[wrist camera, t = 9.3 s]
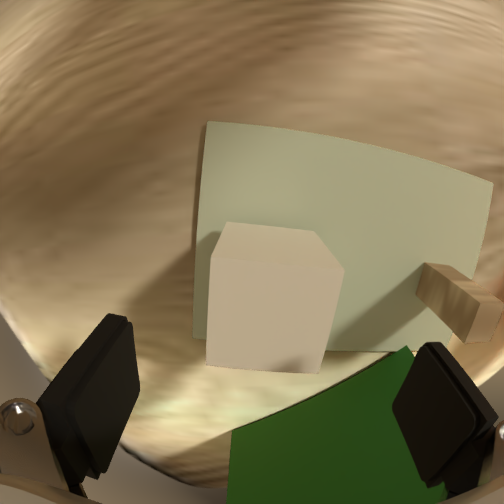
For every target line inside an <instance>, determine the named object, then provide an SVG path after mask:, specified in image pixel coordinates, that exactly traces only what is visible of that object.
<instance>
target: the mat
mask: <svg viewBox="0 0 504 504" xmlns="http://www.w3.org/2000/svg"><path fill="white" fill-rule="evenodd" d="M492 190H493V183H491V182H489V181H486V180H484V179H481V178H479V177H476V176H473V175H471V174H468V173H465V172H462V171H459V170H457V169H454V168H451V167H448V166H445V165H442V164H439V163H435V162H432V161H429V160H426V159H422V158H419V157H416V156H412V155H409V154H405V153H401V152H398V151H394V150H390V149H386V148H382V147H378V146H374V145H370V144H365V143H361V142H357V141H352V140H347V139H342V138H337V137H332V136H327V135H321V134H316V133H310V132H304V131H297V130H291V129H284V128H276V127H269V126H260V125H251V124H241V123H230V122H217V121H207V129H206V137H205V146H204V156H203V165H202V176H201V186H200V198H199V210H198V224H197V238H196V254H195V273H194V296H193V328H192V338H194V339H202V340H207V319H208V298H209V280H210V263H211V255H212V253H213V251H214V249H215V246H216V244H217V242H218V240H219V238H220V235H221V233H222V231H223V229H224V227H225V224H226V222H236V223H246V224H256V225H265V226H274V227H283V228H292V229H301V230H309V231H314V232H315V233H316V234H317V235H318V237H319V238H320V239H321V240H322V242H323V243H324V244H325V245H326V247H327V248H328V249H329V250H330V252H331V253H332V254H333V255H334V257H335V258H336V259H337V261H338V262H339V263H340V264H341V266H342V267H343V268H344V270H345V272H344V277H343V281H342V286H341V290H340V294H339V299H338V303H337V307H336V311H335V315H334V319H333V323H332V327H331V331H330V334H329V338H328V342H327V345H326V349H325V350H328V351H398V350H400V349H401V348H403V347H404V346H406V345H407V346H408V348H409V349H410V351H418V350H419V348H420V347H422V346H423V344H424V343H426V342H441V343H442V344H443V345H444V346H445V347H447V345H448V343H449V340H450V338H451V336H452V333H453V331H452V330H451V329H450V328H449V327H448V326H447V325H446V324H445V323H444V322H443V321H442V320H441V319H440V318H439V317H438V316H437V315H436V314H435V313H434V312H433V311H432V310H431V309H430V308H429V307H428V306H427V305H426V304H425V303H424V302H423V301H422V300H420V299H419V298H418V297H417V296H416V295H415V294H416V290H417V287H418V284H419V280H420V277H421V273H422V270H423V266H424V262H428V263H436V264H443V265H450V266H451V267H453V268H454V269H456V270H457V271H459V272H460V273H462V274H463V275H465V276H466V277H468V278H469V279H471V280H472V278H473V275H474V272H475V268H476V265H477V261H478V257H479V254H480V250H481V246H482V242H483V238H484V233H485V229H486V224H487V219H488V214H489V209H490V203H491V197H492Z"/></svg>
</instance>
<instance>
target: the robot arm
mask: <svg viewBox="0 0 504 504" xmlns="http://www.w3.org/2000/svg"><path fill="white" fill-rule="evenodd" d="M139 392H140V381H139V375H138V368H137V360H136V352H135V344H134V335H133V326H132V323H131V322H128V320H127V318H126V317H125V316H121V315H116V314H111V313H109V314H107V315H106V316H105V317H104V319H103V320H102V321H101V322H100V323H99V324H98V326H97V327H96V328H95V329H94V330H93V332H92V333H91V334H90V335H89V337H88V338H87V339H86V340H85V341H84V343H83V344H82V345H81V346H80V348H79V349H77V350H76V351H75V352H74V354H73V355H72V356H71V357H70V359H69V360H68V361H67V362H66V364H65V365H64V366H63V368H62V369H61V370H60V371H59V373H58V374H57V375H56V377H55V378H54V379H53V381H52V382H51V383H50V385H49V386H48V387H47V389H46V390H45V391H44V393H43V394H42V395H41V397H40V398H39V399H38V401H37V402H36V404H35V403H34V402H32V401H30V400H28V399H24V398H15V399H11V400H8V401H6V402H5V403H3V404H2V405H1V406H0V504H101V503H99V502H96V501H93V500H90V499H88V497H87V495H86V493H85V491H84V488H83V486H82V484H81V483H82V482H83V481H84V478H85V476H88V477H91V478H94V479H97V480H98V478H99V476H100V473H106V471H107V469H108V467H109V465H110V462H111V460H112V457H113V454H114V452H115V450H116V447H117V445H118V443H119V440H120V438H121V435H122V433H123V431H124V428H125V426H126V424H127V421H128V419H129V416H130V414H131V412H132V410H133V407H134V405H135V403H136V400H137V398H138V396H139ZM392 411H393V414H394V416H395V418H396V421H397V423H398V425H399V428H400V430H401V432H402V435H403V437H404V439H405V442H406V444H407V446H408V449H409V451H410V454H411V456H412V458H413V461H414V463H415V466H416V468H417V471H418V473H419V476H420V478H421V480H422V481H423V482H425V484H426V487H427V489H428V488H431V487H435V486H438V485H440V484H441V483H442V482H444V484H445V486H444V489H443V491H442V494H441V497H440V499H439V502H438V503H437V504H504V420H503V421H501V422H499V424H498V425H497V426H496V428H495V427H494V426H493V424H494V423H495V422H496V420H497V419H498V415H497V414H496V412H495V411H494V409H493V408H492V407H491V405H490V404H489V403H488V401H487V400H486V398H485V397H484V396H483V395H482V393H481V392H480V391H479V389H478V388H477V386H476V385H475V384H474V382H473V381H472V380H471V378H470V377H469V376H468V375H467V373H466V372H465V371H464V370H463V368H462V367H461V366H460V364H459V363H458V362H457V361H456V359H455V358H454V357H453V356H452V355H451V353H450V352H449V351H448V350H447V348H446V347H445V346H444V345H443V344H442V343H441V342H426V343H424V344H423V346H422V347H420V348H419V350H418V352H417V354H416V356H415V359H414V361H413V363H412V365H411V367H410V369H409V372H408V374H407V376H406V378H405V380H404V382H403V384H402V386H401V388H400V390H399V392H398V393H397V395H396V397H395V399H394V401H393V403H392Z"/></svg>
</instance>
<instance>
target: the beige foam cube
mask: <svg viewBox="0 0 504 504" xmlns="http://www.w3.org/2000/svg"><path fill="white" fill-rule="evenodd" d="M344 272H345V270H344V268H343V267H342V266H341V264H340V263H339V262H338V261H337V259H336V258H335V257H334V255H333V254H332V253H331V252H330V250H329V249H328V248H327V247H326V245H325V244H324V243H323V242H322V240H321V239H320V238H319V237H318V235H317V234H316V233H315V232H314V231H309V230H301V229H292V228H283V227H274V226H265V225H256V224H246V223H236V222H226V224H225V227H224V229H223V231H222V233H221V235H220V238H219V240H218V242H217V244H216V246H215V249H214V251H213V253H212V255H211V263H210V280H209V298H208V319H207V343H206V365H209V366H217V367H226V368H235V369H246V370H257V371H271V372H289V373H316V374H318V373H319V370H320V366H321V363H322V360H323V356H324V353H325V349H326V345H327V342H328V338H329V334H330V331H331V327H332V323H333V319H334V315H335V311H336V307H337V303H338V299H339V294H340V290H341V286H342V281H343V277H344Z"/></svg>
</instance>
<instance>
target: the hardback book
mask: <svg viewBox="0 0 504 504" xmlns="http://www.w3.org/2000/svg"><path fill="white" fill-rule="evenodd" d="M414 359H415V357H414V355H413V354H412V352H411V351H410V349H409V348H408V346H407V345H406V346H404V347H403V348H401V349H400V350H398V351H397V352H395V353H393V354H392V355H390V356H389V357H387V358H385V359H384V360H382V361H380V362H379V363H377V364H375V365H373V366H372V367H370V368H368V369H367V370H365V371H363V372H361V373H359V374H358V375H356V376H354V377H352V378H350V379H349V380H347V381H345V382H343V383H341V384H339V385H337V386H335V387H333V388H331V389H329V390H327V391H325V392H323V393H321V394H319V395H317V396H315V397H313V398H311V399H309V400H307V401H304V402H302V403H300V404H298V405H296V406H293V407H291V408H289V409H286V410H284V411H282V412H279V413H277V414H275V415H272V416H270V417H267V418H265V419H262V420H260V421H257V422H254V423H252V424H249V425H246V426H244V427H241V428H238V429H235V430H232V438H231V450H230V463H229V475H228V488H227V502H226V504H437V503H438V502H439V499H440V497H441V494H442V491H443V489H444V486H445V484H444V482H442V483H441V484H440V485H438V486H435V487H431V488H428V489H427V487H426V484H425V482H423V481H422V480H421V478H420V476H419V473H418V471H417V468H416V466H415V463H414V461H413V458H412V456H411V454H410V451H409V449H408V446H407V444H406V442H405V439H404V437H403V435H402V432H401V430H400V428H399V425H398V423H397V421H396V418H395V416H394V414H393V411H392V403H393V401H394V399H395V397H396V395H397V393H398V392H399V390H400V388H401V386H402V384H403V382H404V380H405V378H406V376H407V374H408V372H409V369H410V367H411V365H412V363H413V361H414Z"/></svg>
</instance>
